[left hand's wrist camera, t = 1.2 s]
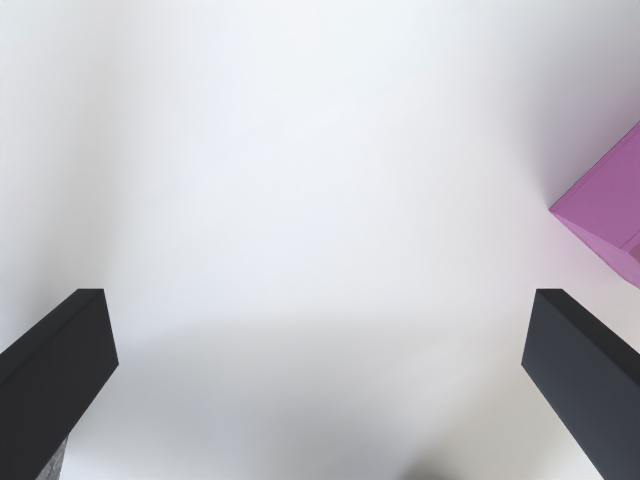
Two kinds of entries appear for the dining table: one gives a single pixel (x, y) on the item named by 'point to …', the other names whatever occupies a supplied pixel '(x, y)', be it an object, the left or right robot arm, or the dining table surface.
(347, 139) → the dining table surface
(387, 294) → the dining table surface
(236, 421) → the dining table surface
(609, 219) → the mauve rectangular box
